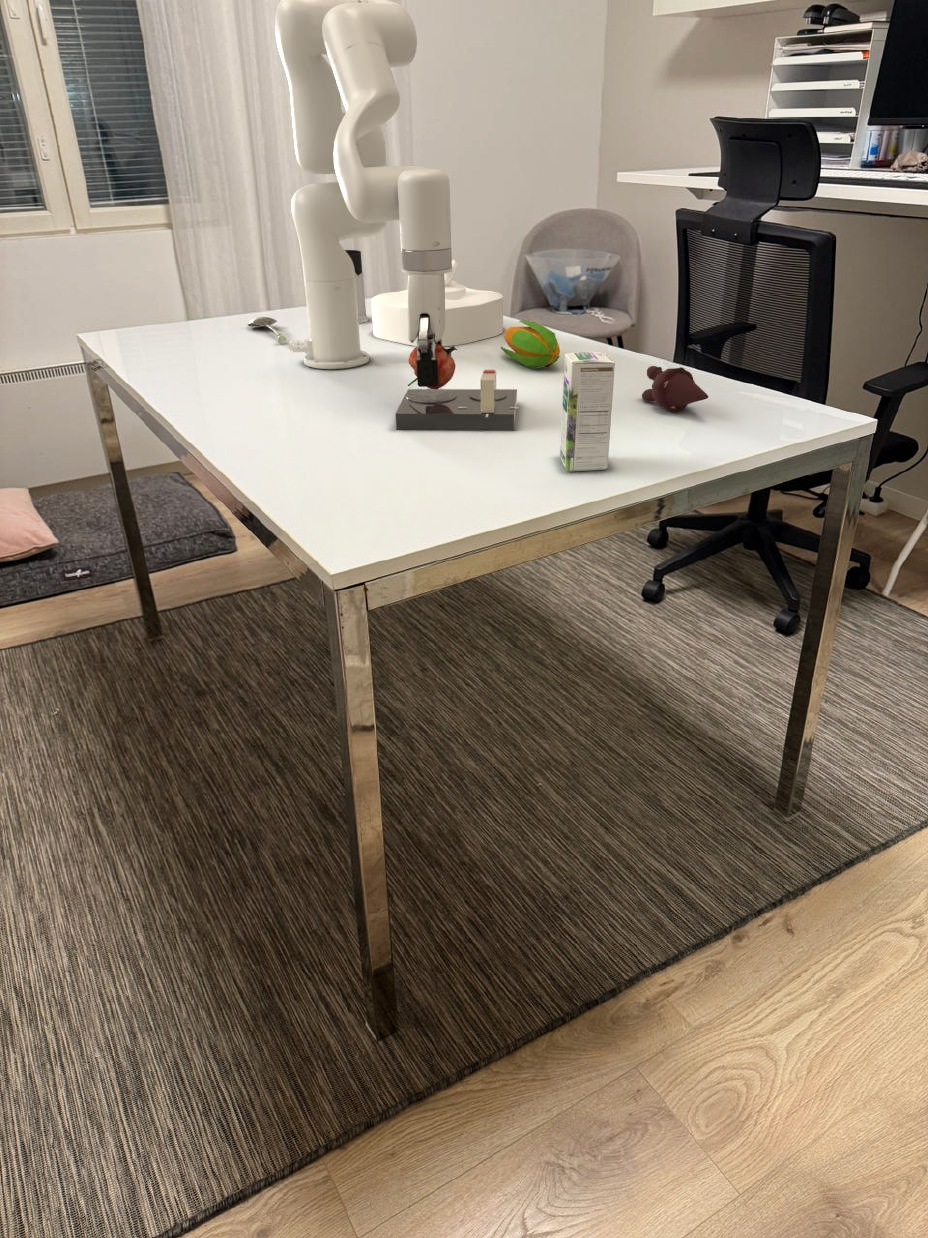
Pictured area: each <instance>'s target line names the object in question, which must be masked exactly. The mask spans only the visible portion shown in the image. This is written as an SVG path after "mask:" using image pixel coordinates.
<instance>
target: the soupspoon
mask: <svg viewBox="0 0 928 1238" xmlns="http://www.w3.org/2000/svg"><path fill="white" fill-rule="evenodd" d="M277 322H278V320H276V319H274V318H272V317H269V316H258V317H256V318H253V319H252V320H250V321H249V322H248V323H247V326H248V327H252V328H254V327H266V328H268V329H269V330H271V331H272V332H273V333H274V334H275V335H276V336H277V338H278V339H277V342H278V344H279V345H285V344H286V343H287V338H286V337H285V336H283V335H282V334H281V333H280V332H279V331H278V330H277V329H276V328H275V327H273V326H272V325H273V324H276V323H277Z"/></svg>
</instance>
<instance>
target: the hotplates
mask: <svg viewBox="0 0 928 1238" xmlns="http://www.w3.org/2000/svg"><path fill="white" fill-rule="evenodd" d="M422 389H423V390H418V391H414V392H411V393H409V394H408V395H407V399H408V400H410V401H412V402H416V403H425V404H434V403H443V402H448V401H451V400H453V399H455V398H456V397H457V394H456V393H455V392H453V391H450V390H445V389H446V388H439V389H430V388H425V389H424V388H422ZM469 397H470V398H471V399H474V400H479V401H481V390H479V391H475V392H472V393H470V395H469ZM506 397H507V394H506V393H505V392H503V391H499V390H496V400H501V399H504V398H506Z"/></svg>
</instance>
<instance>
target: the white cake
mask: <svg viewBox="0 0 928 1238" xmlns="http://www.w3.org/2000/svg"><path fill="white" fill-rule="evenodd" d="M458 266H459V264H458V262H457V261H456V260H455V259H452V271H451V272H448V273H444V279H445V330H444V333H443V335H442V346H443V347H444V348H445V347H455V346H460V345H465V344H469V343H473V342H478V341H482V340H486V339H490V338H494V337H497V336H499V335H502V333H503V332H504V296H503V294H502V293H500V292H497V291H492V290H480V289H474V288H470V287H466V286H465V285H463V284H459V282H458V281H456V280H455V279H452V278H453V276H454V275H455V274H456V271H457V268H458ZM451 279H452V280H451ZM407 292H408V289H404V290H400V291H391V292H383V293H379V294H376V295H374V296H373V297H371V299H370V303H371V304H370V305H371V316H372V317H371V318H372V333H373V334H372V335H373V336H374V337H376V338H378V339H381V340H384V341H388V342H394V343H398V344H402V345H403V344H404V345H407V346H414V347H417V338H416V340H414V342H413V343H411V342H410V341H409V340H408V300H407ZM417 337H418V336H417Z"/></svg>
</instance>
